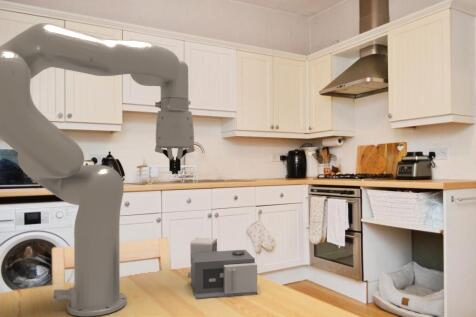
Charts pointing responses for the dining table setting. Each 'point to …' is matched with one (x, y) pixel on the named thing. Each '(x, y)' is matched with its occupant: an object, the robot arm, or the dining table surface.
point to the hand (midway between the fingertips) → (174, 173)
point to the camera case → (215, 272)
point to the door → (240, 278)
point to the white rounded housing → (202, 246)
